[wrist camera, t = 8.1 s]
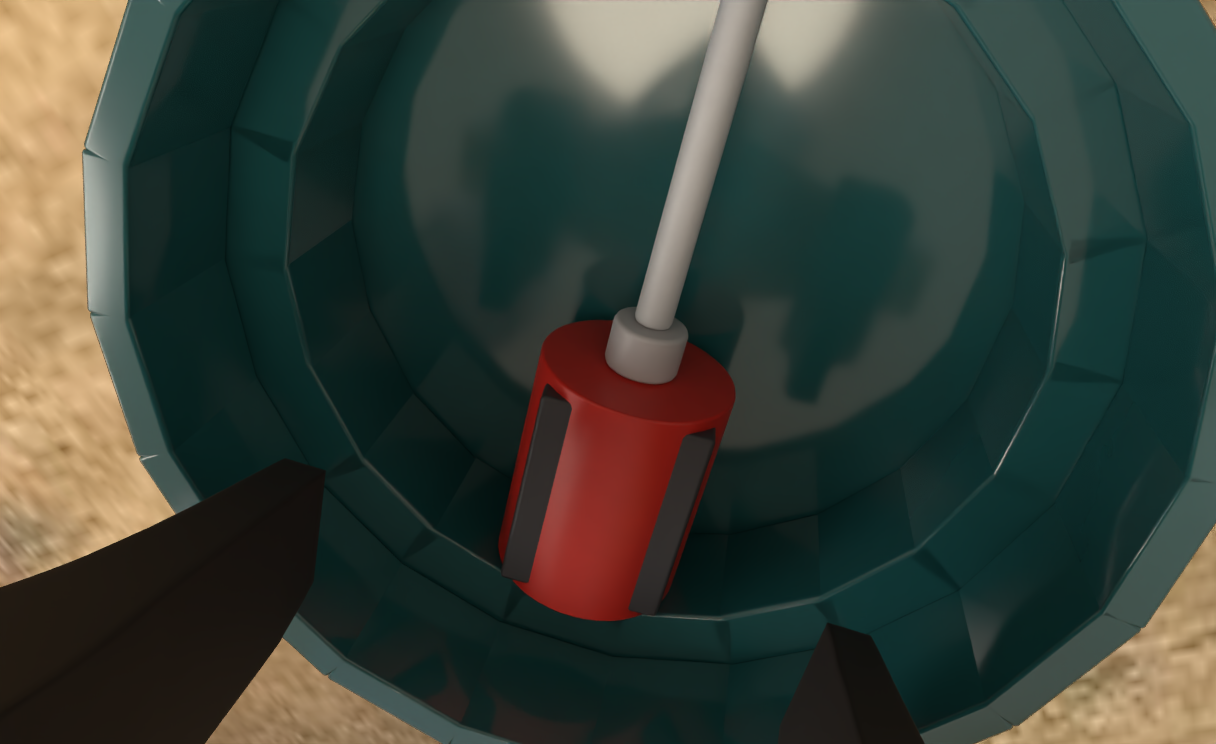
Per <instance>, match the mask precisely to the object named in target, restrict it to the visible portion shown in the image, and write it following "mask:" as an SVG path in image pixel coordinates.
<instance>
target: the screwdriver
mask: <svg viewBox="0 0 1216 744" xmlns="http://www.w3.org/2000/svg"><path fill="white" fill-rule="evenodd" d="M767 1H768V0H720V4H719V8H718V11H717V15H716V19H715V22H714V26H713V30H712V33H711V37H710V41H709V44H708V48H707V52H706V55H705V59H704V63H703V66H702V70H701V74H700V77H699V81H698V85H697V88H696V92H695V96H694V99H693V103H692V107H691V110H690V114H689V118H688V121H687V125H686V129H685V132H684V136H683V140H682V143H681V147H680V151H679V154H678V158H677V162H676V165H675V169H674V173H673V176H672V180H671V184H670V187H669V191H668V195H667V198H666V202H665V206H664V209H663V213H662V217H661V220H660V224H659V228H658V231H657V235H656V239H655V242H654V246H653V250H652V253H651V257H650V261H649V264H648V268H647V272H646V275H645V279H644V283H643V286H642V290H641V294H640V297H639V301H638V305H637V307H628V308H624V309H622V310H620V311H619V312H618V313H617V314H616V315H615V317H614V320H587V321H579V322H574V323H570V324H567V325H564V326H562V327H559V328H557V329H556V330H554V331H553V332H551V333H550V334H549V335H548V336H547V338H546V339H545V341H544V342H543V345H542V348H541V353H540V357H539V362H538V366H537V371H536V375H535V379H534V384H533V388H532V393H531V397H530V402H529V406H528V411H527V415H526V420H525V424H524V429H523V433H522V437H521V442H520V446H519V451H518V455H517V460H516V464H515V469H514V473H513V478H512V482H511V486H510V491H509V495H508V500H507V504H506V509H505V513H504V518H503V522H502V527H501V531H500V535H499V542H498V549H499V555H500V558H501V561H502V568H501V576H503V577H504V578H508V579H512V580H513V582H514V583H515V584H516V585H517V586H518V587H519V588H520V589H521V590H522V591H524V592H525V593H526V594H527V595H528V596H530V597H531V598H533V599H534V600H536V601H537V602H539V603H541V604H543V605H544V606H546V607H548V608H550V609H553V610H555V611H557V612H560V613H563V614H566V615H569V616H572V617H577V618H581V619H587V620H595V621H616V620H624V619H629V618H633V617H636V616H639V615H642V614H645V615H648V616H655V615H656V614H657V613H658V610H659V607H660V604H661V601H662V600H663V599H664V598H665V596H666V595H667V593H668V592H669V589H670V587H671V585H672V582H673V579H674V576H675V573H676V570H677V567H678V564H679V561H680V559H681V556H682V553H683V550H684V547H685V544H686V541H687V538H688V535H689V533H690V530H691V527H692V524H693V521H694V518H695V515H696V512H697V509H698V507H699V504H700V501H701V498H702V495H703V492H704V489H705V486H706V483H707V481H708V478H709V475H710V472H711V469H712V466H713V463H714V460H715V457H716V455H717V452H718V449H719V446H720V443H721V440H722V437H723V434H724V431H725V429H726V426H727V423H728V420H729V417H730V414H731V411H732V408H733V405H734V403H735V398H736V392H735V386H734V383H733V380H732V379H731V377H730V375H729V374H728V372H727V371H726V370H725V369H724V367H723V366H722V365H721V364H720V363H719V362H718V361H717V360H715V359H714V358H713V357H712V356H710V355H709V354H708V353H706V352H705V351H703V350H702V349H700V348H698V347H697V346H695V345H693V344H691V343H689V342H687V340H688V331H687V329H686V327H685V326H684V324H683V323H682V322H680V321H679V320H678V319H676V318H674V316H675V313H676V310H677V306H678V303H679V299H680V296H681V293H682V289H683V286H684V282H685V279H686V276H687V272H688V269H689V266H690V262H691V259H692V255H693V252H694V249H695V245H696V242H697V238H698V235H699V232H700V228H701V225H702V222H703V218H704V215H705V211H706V208H707V205H708V201H709V198H710V194H711V191H712V188H713V184H714V181H715V178H716V174H717V171H718V167H719V164H720V161H721V157H722V154H723V150H724V147H725V144H726V140H727V137H728V134H729V130H730V127H731V123H732V120H733V117H734V113H735V110H736V106H737V103H738V100H739V96H740V93H741V90H742V86H743V83H744V79H745V76H746V73H747V69H748V66H749V62H750V59H751V56H752V52H753V49H754V45H755V42H756V39H757V35H758V32H759V29H760V25H761V22H762V18H763V15H764V12H765V8H766V5H767Z"/></svg>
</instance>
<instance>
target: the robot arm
mask: <svg viewBox="0 0 1216 744" xmlns="http://www.w3.org/2000/svg"><path fill="white" fill-rule="evenodd" d="M325 474H326V470H323V469H319V468H316V467H313V466H310V465H306V464H303V463H300V462H296V461H293V460H290V459H286V458H284V459H282V460H280V461H278V462H276V463H274V464H272V465H270V466H268V467H266V468H264V469H262V470H260V471H258V472H256V473H255V474H253V475H251V476H249V477H247V478H245V479H243V480H241V481H239V482H237V483H236V484H234V485H232V486H230V487H228V488H226V489H224V490H222V491H220V492H218V493H216V494H215V495H213V496H211V497H209V498H207V499H205V500H203V501H201V502H199V503H197V504H195V505H193V506H191V507H189V508H187V509H185V510H183V511H181V512H179V513H177V514H175V515H173V516H171V517H169V518H167V519H165V520H163V521H161V522H159V523H157V524H155V525H153V526H151V527H149V528H147V529H145V530H142V531H140V532H138V533H136V534H133V535H131V536H129V537H127V538H124V539H122V540H120V541H118V542H116V543H113V544H111V545H109V546H107V547H104V548H102V549H100V550H98V551H96V552H93V553H91V554H89V555H86V556H84V557H81V558H79V559H77V560H74V561H72V562H69V563H66V564H64V565H61V566H59V567H56V568H54V569H51V570H48V571H46V572H43V573H40V574H37V575H34V576H32V577H29V578H26V579H23V580H20V581H17V582H15V583H12V584H9V585H6V586H3V587H0V744H205V742H206V741H207V740H208V738H209V737H210V736H211V734H212V733H213V732H214V730H215V729H216V728H217V726H218V725H219V724H220V722H221V721H222V720H223V718H224V717H225V716H226V714H227V713H228V712H229V710H230V709H231V708H232V706H233V705H234V704H235V702H236V701H237V700H238V698H239V697H240V696H241V694H242V693H243V692H244V690H245V689H246V688H247V686H248V685H249V683H250V682H251V681H252V679H253V678H254V677H255V675H256V674H257V673H258V671H259V670H260V668H261V667H262V666H263V664H264V663H265V662H266V660H267V659H268V658H269V656H270V655H271V653H272V652H273V651H274V649H275V648H276V647H277V645H278V644H279V642H280V641H281V639H282V637H283V635H284V634H285V632H286V630H287V628H288V627H289V625H290V623H291V622H292V620H293V618H294V616H295V615H296V613H297V611H298V609H299V607H300V605H301V604H302V602H303V600H304V598H305V596H306V595H307V593H308V591H309V589H310V587H311V585H312V584H313V582H314V573H315V564H316V555H317V546H318V537H319V528H320V519H321V510H322V501H323V492H324V483H325ZM778 744H925V743H924V741H923V739H922V737H921V735H920V733H919V731H918V729H917V727H916V725H915V723H914V721H913V720H912V718H911V716H910V714H909V712H908V710H907V708H906V705H905V703H904V701H903V699H902V697H901V695H900V693H899V691H898V689H897V687H896V685H895V683H894V681H893V679H892V677H891V675H890V673H889V671H888V669H887V667H886V665H885V663H884V661H883V658H882V656H881V654H880V652H879V650H878V648H877V646H876V644H875V643H874V641H873V639H872V637H871V635H867V634H864V633H861V632H857V631H854V630H851V629H847V628H844V627H841V626H838V625H834V624H831V623H828V622H827V624H826V626H825V628H824V630H823V633H822V635H821V637H820V639H819V641H818V643H817V646H816V648H815V650H814V652H813V654H812V657H811V659H810V661H809V663H808V665H807V667H806V670H805V672H804V674H803V676H802V678H801V681H800V683H799V685H798V687H797V689H796V691H795V694H794V696H793V698H792V700H791V702H790V704H789V707H788V709H787V711H786V713H785V715H784V718H783V720H782V722H781V724H780V728H779V737H778Z"/></svg>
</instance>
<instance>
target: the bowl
mask: <svg viewBox="0 0 1216 744" xmlns="http://www.w3.org/2000/svg"><path fill="white" fill-rule="evenodd" d="M719 4H720V0H128V3H127V6H126V9H125V12H124V16H123V19H122V22H121V25H120V29H119V32H118V35H117V38H116V42H115V45H114V48H113V52H112V55H111V58H110V61H109V65H108V68H107V71H106V74H105V78H104V81H103V84H102V87H101V91H100V94H99V97H98V101H97V104H96V107H95V110H94V114H93V117H92V120H91V123H90V127H89V130H88V133H87V136H86V140H85V143H84V147H85V148H86V149H84V150H83V152H82V163H83V191H84V219H85V247H86V276H87V304H88V310H89V311H90V312H91V313H90V318H91V321H92V324H93V327H94V330H95V332H96V335H97V338H98V341H99V344H100V347H101V350H102V353H103V356H104V359H105V362H106V365H107V368H108V370H109V373H110V376H111V379H112V382H113V385H114V388H115V391H116V394H117V397H118V400H119V403H120V406H121V408H122V411H123V414H124V417H125V420H126V423H127V426H128V429H129V432H130V435H131V438H132V441H133V444H134V446H135V449H136V452H137V454H138V455H139V456H141V457H140V458H139V459H140V462H141V463H142V465H143V466H144V468H145V469H146V471H147V472H148V474H149V475H150V476H151V478H152V479H153V481H154V482H155V484H156V485H157V487H158V488H159V490H160V491H161V493H162V494H163V496H164V497H165V499H166V500H167V502H168V503H169V505H170V506H171V508H172V509H173V511H174V512H175V514H177V513H179V512H181V511H183V510H185V509H187V508H189V507H191V506H193V505H195V504H197V503H199V502H201V501H203V500H205V499H207V498H209V497H211V496H213V495H215V494H216V493H218V492H220V491H222V490H224V489H226V488H228V487H230V486H232V485H234V484H236V483H237V482H239V481H241V480H243V479H245V478H247V477H249V476H251V475H253V474H255V473H256V472H258V471H260V470H262V469H264V468H266V467H268V466H270V465H272V464H274V463H276V462H278V461H280V460H282V459H284V458H286V459H290V460H293V461H296V462H300V463H303V464H306V465H310V466H313V467H316V468H319V469H323V470H326V474H325V483H324V492H323V501H322V510H321V519H320V528H319V537H318V546H317V555H316V564H315V573H314V582H313V584H312V585H311V587H310V589H309V591H308V593H307V595H306V596H305V598H304V600H303V602H302V604H301V605H300V607H299V609H298V611H297V613H296V615H295V616H294V618H293V620H292V622H291V623H290V625H289V627H288V628H287V630H286V632H285V634H284V635H283V638H284V639H285V640H286V641H287V642H288V643H289V644H290V645H291V646H293V647H294V648H295V649H296V650H297V651H298V652H299V653H300V654H301V655H302V656H303V657H305V658H306V659H307V660H308V661H309V662H310V663H311V664H312V665H313V666H314V667H315V668H316V669H318V670H319V671H320V672H321V673H322V674H323V675H328V678H329V679H330V680H332V681H334V682H335V683H337V684H339V685H341V686H342V687H344V688H346V689H348V690H349V691H351V692H353V693H355V694H356V695H358V696H360V697H361V698H363V699H365V700H367V701H368V702H370V703H372V704H374V705H375V706H377V707H379V708H381V709H382V710H384V711H386V712H387V713H389V714H391V715H393V716H394V717H396V718H398V719H400V720H401V721H403V722H405V723H407V724H408V725H410V726H412V727H413V728H415V729H417V730H419V731H420V732H422V733H424V734H426V735H427V736H429V737H431V738H433V739H434V740H436V741H438V742H440V743H441V744H778V737H779V728H780V724H781V722H782V720H783V718H784V715H785V713H786V711H787V709H788V707H789V704H790V702H791V700H792V698H793V696H794V694H795V691H796V689H797V687H798V685H799V683H800V681H801V678H802V676H803V674H804V672H805V670H806V667H807V665H808V663H809V661H810V659H811V657H812V654H813V652H814V650H815V648H816V646H817V643H818V641H819V639H820V637H821V635H822V633H823V630H824V628H825V626H826V624H827V622H828V623H831V624H834V625H838V626H841V627H844V628H847V629H851V630H854V631H857V632H861V633H864V634H867V635H871V637H872V639H873V641H874V643H875V644H876V646H877V648H878V650H879V652H880V654H881V656H882V658H883V661H884V663H885V665H886V667H887V669H888V671H889V673H890V675H891V677H892V679H893V681H894V683H895V685H896V687H897V689H898V691H899V693H900V695H901V697H902V699H903V701H904V703H905V705H906V708H907V710H908V712H909V714H910V716H911V718H912V720H913V721H914V723H915V725H916V727H917V729H918V731H919V733H920V735H921V737H922V739H923V741H924V743H925V744H976V743H978V742H981V741H983V740H986V739H988V738H991V737H993V736H996V735H998V734H1001V733H1003V732H1006V731H1008V730H1010V729H1012V728H1013V726H1019V725H1020V724H1021V723H1022V722H1024V721H1025V720H1026V719H1028V718H1029V717H1030V716H1031V715H1033V714H1034V713H1035V712H1037V711H1038V710H1039V709H1041V708H1042V707H1043V706H1044V705H1046V704H1047V703H1048V702H1050V701H1051V700H1052V699H1053V698H1055V697H1056V696H1057V695H1059V694H1060V693H1061V692H1063V691H1064V690H1065V689H1066V688H1068V687H1069V686H1070V685H1072V684H1073V683H1074V682H1075V681H1077V680H1078V679H1079V678H1081V677H1082V676H1083V675H1085V674H1086V673H1087V672H1088V671H1090V670H1091V669H1092V668H1094V667H1095V666H1096V665H1097V664H1099V663H1100V662H1101V661H1103V660H1104V659H1105V658H1107V657H1108V656H1109V655H1110V654H1112V653H1113V652H1114V651H1116V650H1117V649H1118V648H1119V647H1121V646H1122V645H1123V644H1125V643H1126V642H1127V641H1129V640H1130V639H1131V638H1132V637H1134V636H1135V635H1136V634H1138V633H1139V632H1140V630H1141V628H1144V627H1146V625H1147V624H1148V622H1149V621H1150V619H1151V618H1152V616H1153V615H1154V613H1155V612H1156V610H1157V609H1158V607H1159V606H1160V604H1161V603H1162V602H1163V600H1164V599H1165V597H1166V596H1167V594H1168V593H1169V591H1170V590H1171V588H1172V587H1173V585H1174V584H1175V582H1176V581H1177V579H1178V578H1179V577H1180V575H1181V574H1182V572H1183V571H1184V569H1185V568H1186V566H1187V565H1188V563H1189V562H1190V560H1191V559H1192V557H1193V556H1194V554H1195V553H1196V552H1197V550H1198V549H1199V547H1200V546H1201V544H1202V543H1203V541H1204V540H1205V538H1206V537H1207V535H1208V534H1209V532H1210V531H1211V529H1212V528H1213V527H1214V525H1215V524H1216V26H1215V25H1214V23H1213V21H1212V20H1211V18H1210V16H1209V15H1208V13H1207V12H1206V10H1205V8H1204V7H1203V5H1202V3H1201V2H1200V0H768V1H767V5H766V8H765V12H764V15H763V18H762V22H761V25H760V29H759V32H758V35H757V39H756V42H755V45H754V49H753V52H752V56H751V59H750V62H749V66H748V69H747V73H746V76H745V79H744V83H743V86H742V90H741V93H740V96H739V100H738V103H737V106H736V110H735V113H734V117H733V120H732V123H731V127H730V130H729V134H728V137H727V140H726V144H725V147H724V150H723V154H722V157H721V161H720V164H719V167H718V171H717V174H716V178H715V181H714V184H713V188H712V191H711V194H710V198H709V201H708V205H707V208H706V211H705V215H704V218H703V222H702V225H701V228H700V232H699V235H698V238H697V242H696V245H695V249H694V252H693V255H692V259H691V262H690V266H689V269H688V272H687V276H686V279H685V282H684V286H683V289H682V293H681V296H680V299H679V303H678V306H677V310H676V313H675V316H674V318H676V319H678V320H679V321H680V322H682V323H683V324H684V326H685V327H686V329H687V331H688V340H687V342H689V343H691V344H693V345H695V346H697V347H698V348H700V349H702V350H703V351H705V352H706V353H708V354H709V355H710V356H712V357H713V358H714V359H715V360H717V361H718V362H719V363H720V364H721V365H722V366H723V367H724V369H725V370H726V371H727V372H728V374H729V375H730V377H731V379H732V380H733V383H734V386H735V392H736V398H735V403H734V405H733V408H732V411H731V414H730V417H729V420H728V423H727V426H726V429H725V431H724V434H723V437H722V440H721V443H720V446H719V449H718V452H717V455H716V457H715V460H714V463H713V466H712V469H711V472H710V475H709V478H708V481H707V483H706V486H705V489H704V492H703V495H702V498H701V501H700V504H699V507H698V509H697V512H696V515H695V518H694V521H693V524H692V527H691V530H690V533H689V535H688V538H687V541H686V544H685V547H684V550H683V553H682V556H681V559H680V561H679V564H678V567H677V570H676V573H675V576H674V579H673V582H672V585H671V587H670V589H669V592H668V593H667V595H666V596H665V598H664V599H663V600H662V601H661V604H660V607H659V610H658V613H657V614H656V615H655V616H648V615H645V614H642V615H639V616H636V617H633V618H629V619H624V620H616V621H595V620H587V619H581V618H577V617H572V616H569V615H566V614H563V613H560V612H557V611H555V610H553V609H550V608H548V607H546V606H544V605H543V604H541V603H539V602H537V601H536V600H534V599H533V598H531V597H530V596H528V595H527V594H526V593H525V592H524V591H522V590H521V589H520V588H519V587H518V586H517V585H516V584H515V583H514V582H513V580H512V579H508V578H504V577H503V576H501V568H502V561H501V558H500V555H499V549H498V542H499V535H500V531H501V527H502V522H503V518H504V513H505V509H506V504H507V500H508V495H509V491H510V486H511V482H512V478H513V473H514V469H515V464H516V460H517V455H518V451H519V446H520V442H521V437H522V433H523V429H524V424H525V420H526V415H527V411H528V406H529V402H530V397H531V393H532V388H533V384H534V379H535V375H536V371H537V366H538V362H539V357H540V353H541V348H542V345H543V342H544V341H545V339H546V338H547V336H548V335H549V334H550V333H551V332H553V331H554V330H556V329H557V328H559V327H562V326H564V325H567V324H570V323H574V322H579V321H587V320H614V317H615V315H616V314H617V313H618V312H619V311H620V310H622V309H624V308H628V307H637V305H638V301H639V297H640V294H641V290H642V286H643V283H644V279H645V275H646V272H647V268H648V264H649V261H650V257H651V253H652V250H653V246H654V242H655V239H656V235H657V231H658V228H659V224H660V220H661V217H662V213H663V209H664V206H665V202H666V198H667V195H668V191H669V187H670V184H671V180H672V176H673V173H674V169H675V165H676V162H677V158H678V154H679V151H680V147H681V143H682V140H683V136H684V132H685V129H686V125H687V121H688V118H689V114H690V110H691V107H692V103H693V99H694V96H695V92H696V88H697V85H698V81H699V77H700V74H701V70H702V66H703V63H704V59H705V55H706V52H707V48H708V44H709V41H710V37H711V33H712V30H713V26H714V22H715V19H716V15H717V11H718V8H719Z"/></svg>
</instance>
